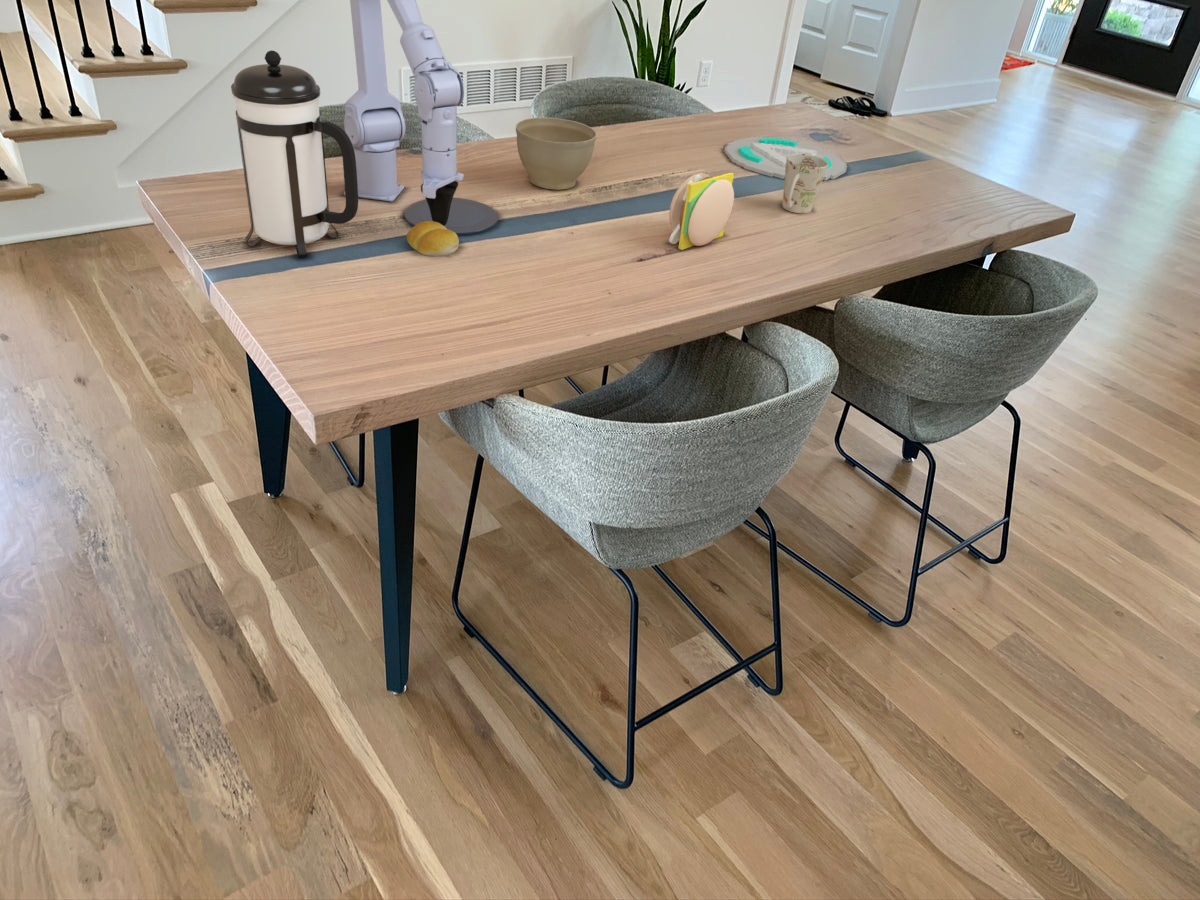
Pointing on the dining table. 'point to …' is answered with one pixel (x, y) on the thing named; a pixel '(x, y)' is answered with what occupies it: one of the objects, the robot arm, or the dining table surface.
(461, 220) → the plate
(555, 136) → the planter bowl
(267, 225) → the coffee press
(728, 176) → the hamburger
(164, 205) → the dining table surface
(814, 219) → the dining table surface
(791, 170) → the mug
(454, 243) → the bread roll
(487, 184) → the dining table surface
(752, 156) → the grey flat disc
